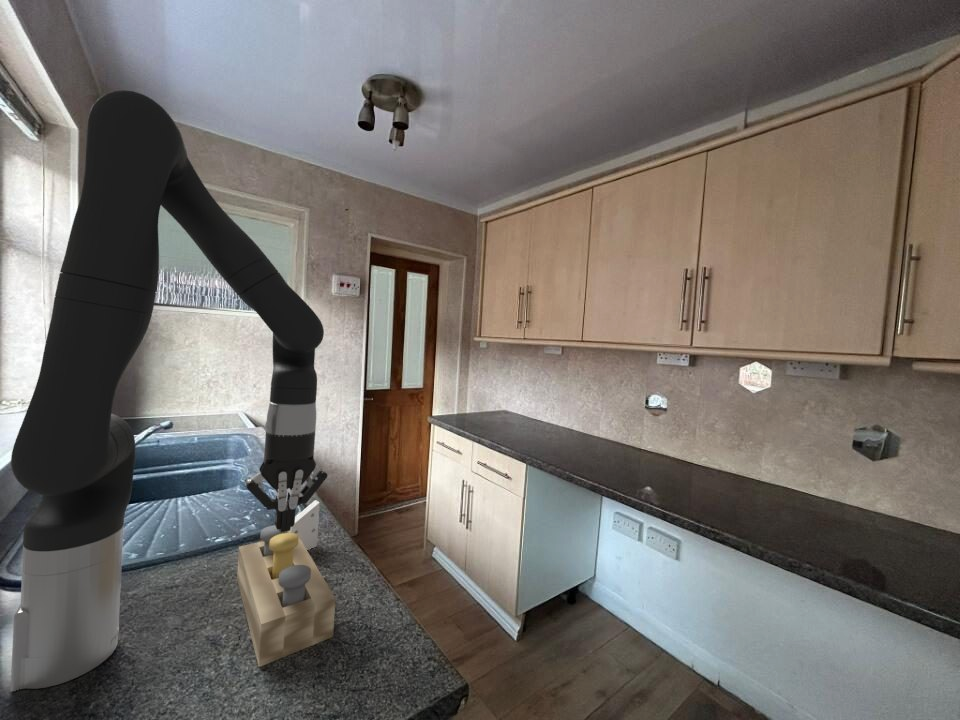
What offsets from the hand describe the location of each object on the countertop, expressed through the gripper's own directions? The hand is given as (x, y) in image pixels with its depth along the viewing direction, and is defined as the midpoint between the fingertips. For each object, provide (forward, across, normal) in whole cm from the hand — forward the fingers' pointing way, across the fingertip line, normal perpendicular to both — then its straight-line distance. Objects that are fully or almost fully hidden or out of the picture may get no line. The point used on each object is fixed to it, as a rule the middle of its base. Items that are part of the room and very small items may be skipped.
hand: (284, 529), depth 64 cm
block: (+13, 0, 0) cm, 13 cm away
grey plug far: (+12, 0, +8) cm, 15 cm away
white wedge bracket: (+13, +7, +17) cm, 23 cm away
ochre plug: (+11, 0, 0) cm, 11 cm away
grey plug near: (+12, 0, -8) cm, 15 cm away
